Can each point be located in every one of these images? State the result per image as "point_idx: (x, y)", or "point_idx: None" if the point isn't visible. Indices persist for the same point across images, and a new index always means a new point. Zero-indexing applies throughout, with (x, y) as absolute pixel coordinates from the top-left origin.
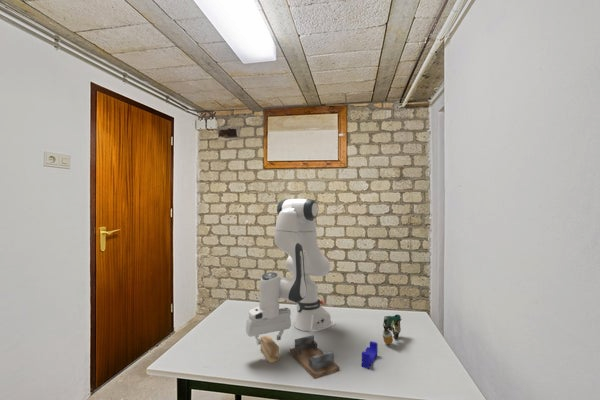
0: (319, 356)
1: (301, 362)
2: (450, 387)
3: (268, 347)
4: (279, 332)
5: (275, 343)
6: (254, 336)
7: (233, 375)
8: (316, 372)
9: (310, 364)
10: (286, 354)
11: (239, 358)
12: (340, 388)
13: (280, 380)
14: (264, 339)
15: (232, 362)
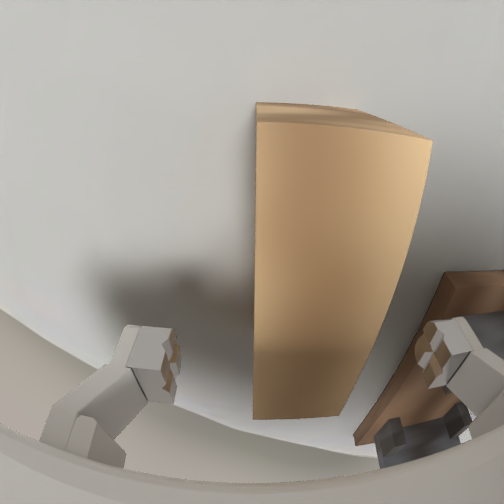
0: None
1: (389, 397)
2: None
3: (253, 393)
4: (493, 374)
5: (354, 376)
6: (62, 404)
7: (42, 329)
8: (371, 441)
9: (385, 435)
10: (411, 286)
11: (44, 185)
12: (372, 453)
13: (241, 423)
14: (288, 251)
15: (12, 219)
